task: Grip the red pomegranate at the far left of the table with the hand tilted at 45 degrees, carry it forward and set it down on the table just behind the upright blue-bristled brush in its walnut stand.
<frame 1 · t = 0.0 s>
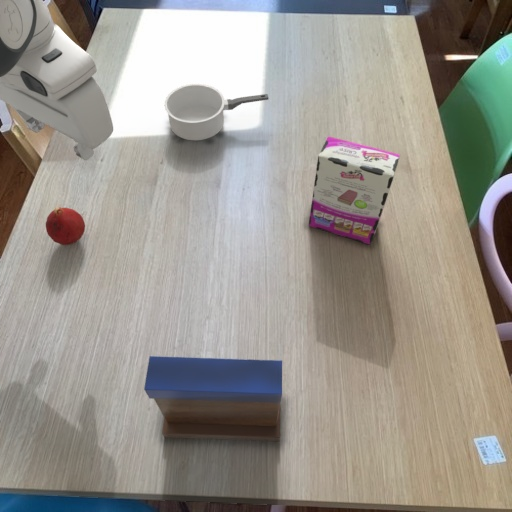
hand: (61, 141, 64), 20 cm above the table, tool pointing down, fingers open, 8 cm apart
saucepan: (218, 124, 96), on the table
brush: (223, 419, 63), on the table
candy bar box: (342, 225, 82), on the table
red pomegranate: (73, 240, 80), on the table
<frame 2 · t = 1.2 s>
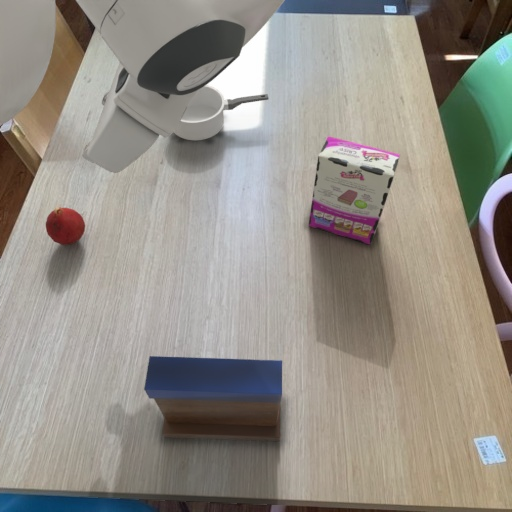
hand: (98, 128, 59), 24 cm above the table, tool tilted 45°, fingers open, 8 cm apart
nothing on the table moved.
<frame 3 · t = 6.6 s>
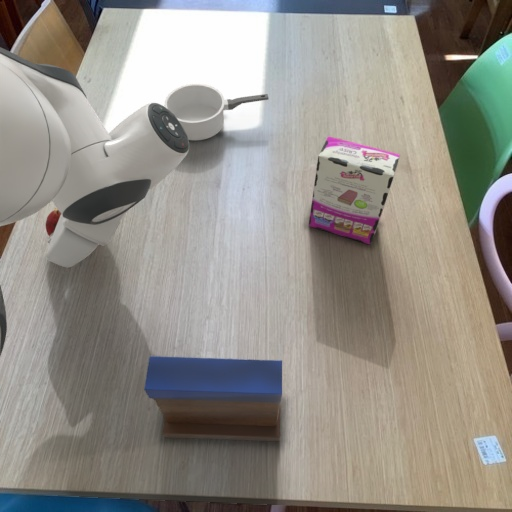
hand: (60, 223, 76), 4 cm above the table, tool tilted 45°, fingers closed on red pomegranate, 6 cm apart
red pomegranate: (73, 240, 80), on the table, touching gripper
everything else where it was.
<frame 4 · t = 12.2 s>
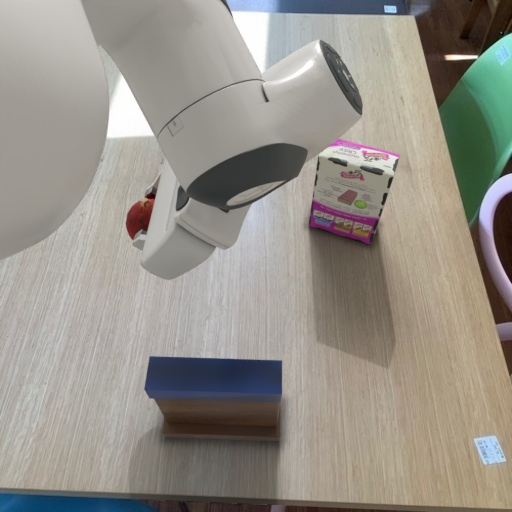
hand: (144, 219, 57), 19 cm above the table, tool tilted 45°, fingers closed on red pomegranate, 6 cm apart
red pomegranate: (156, 241, 61), point 15 cm above the table, touching gripper
everything else where it was.
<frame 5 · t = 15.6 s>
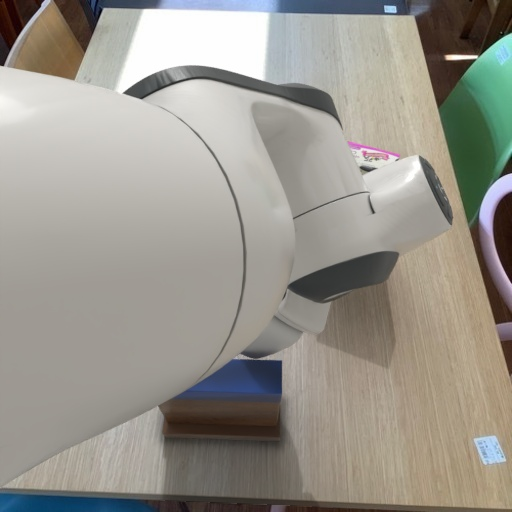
hand: (221, 290, 61), 12 cm above the table, tool tilted 45°, fingers closed on red pomegranate, 6 cm apart
red pomegranate: (227, 307, 65), point 7 cm above the table, touching gripper
everything else where it was.
when the fingers open (4 cm above the table, at t = 18.2 s): red pomegranate stays where it is, on the table.
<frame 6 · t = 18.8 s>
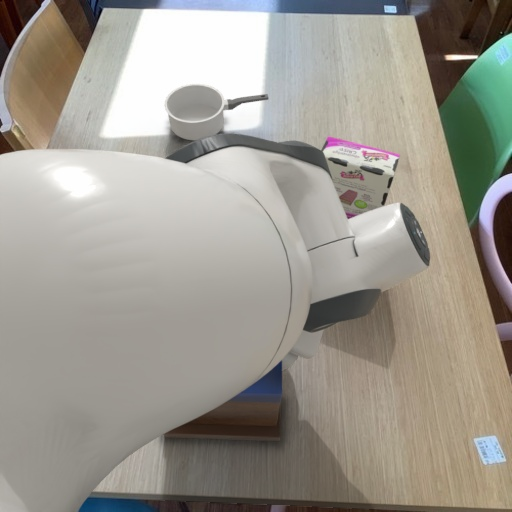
hand: (223, 314, 66), 5 cm above the table, tool tilted 45°, fingers open, 8 cm apart
red pomegranate: (229, 330, 71), on the table
everything else where it was.
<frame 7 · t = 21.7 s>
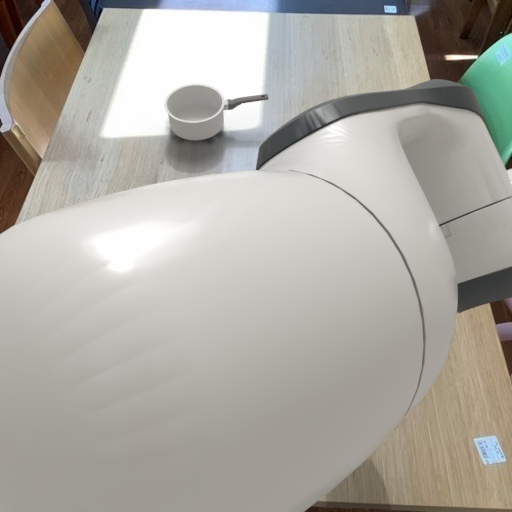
hand: (306, 298, 58), 13 cm above the table, tool tilted 45°, fingers open, 8 cm apart
nothing on the table moved.
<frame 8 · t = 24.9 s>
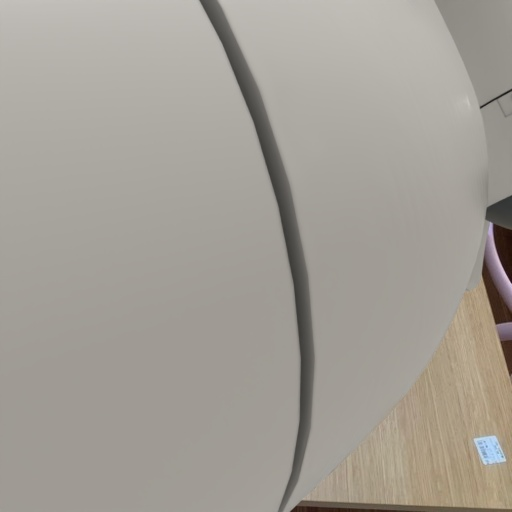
hand: (303, 244, 46), 27 cm above the table, tool tilted 45°, fingers open, 8 cm apart
nothing on the table moved.
at the end: red pomegranate inside the target area on the table beside the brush (0.5 cm from its centre), on the table; the gripper is holding nothing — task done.
